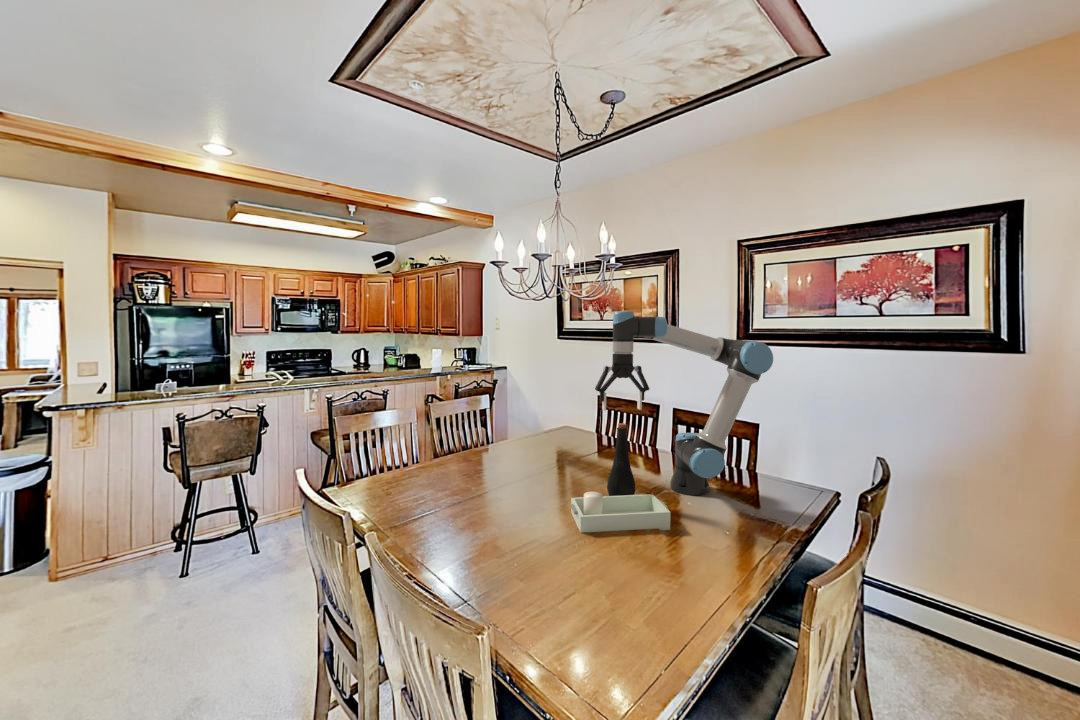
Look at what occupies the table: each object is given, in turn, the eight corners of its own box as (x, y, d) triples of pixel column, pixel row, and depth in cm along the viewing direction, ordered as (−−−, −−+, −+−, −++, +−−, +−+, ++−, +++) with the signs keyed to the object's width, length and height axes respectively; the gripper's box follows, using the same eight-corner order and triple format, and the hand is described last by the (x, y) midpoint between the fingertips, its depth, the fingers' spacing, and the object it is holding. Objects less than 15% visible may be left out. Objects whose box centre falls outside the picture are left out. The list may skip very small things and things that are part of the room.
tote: (655, 510, 166) (655, 494, 165) (673, 529, 150) (673, 512, 149) (568, 514, 162) (568, 498, 161) (577, 535, 146) (577, 516, 146)
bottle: (635, 508, 167) (636, 427, 165) (606, 506, 169) (607, 426, 167) (635, 497, 178) (636, 421, 175) (607, 495, 180) (608, 420, 177)
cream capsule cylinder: (599, 516, 158) (600, 491, 158) (604, 524, 152) (604, 498, 151) (581, 517, 158) (581, 492, 157) (585, 525, 151) (586, 499, 151)
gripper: (651, 352, 174) (650, 407, 176) (587, 352, 171) (587, 408, 173) (659, 353, 167) (657, 410, 168) (592, 353, 164) (591, 412, 165)
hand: (621, 409), depth 171 cm, fingers open, 13 cm apart
